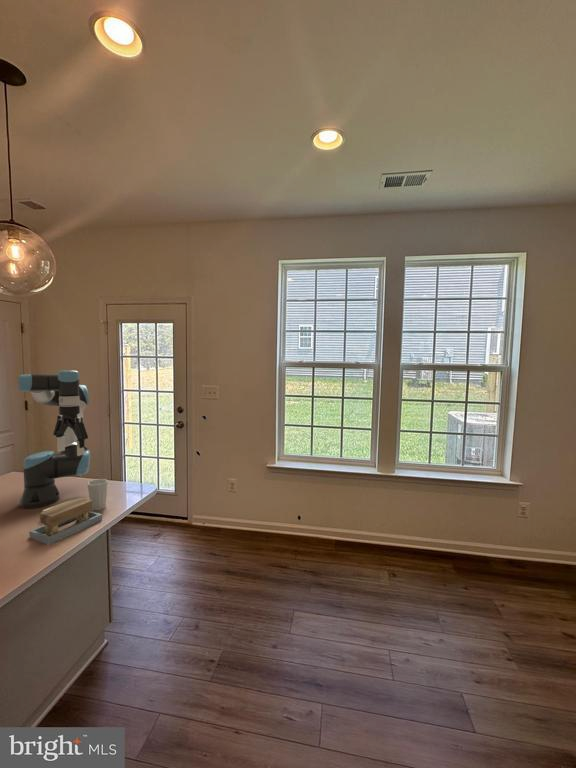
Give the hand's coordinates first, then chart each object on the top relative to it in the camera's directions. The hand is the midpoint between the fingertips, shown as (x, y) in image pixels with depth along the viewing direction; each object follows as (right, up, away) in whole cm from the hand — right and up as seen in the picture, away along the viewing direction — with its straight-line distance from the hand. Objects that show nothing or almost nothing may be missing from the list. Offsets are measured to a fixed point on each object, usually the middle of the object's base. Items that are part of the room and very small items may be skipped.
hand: (70, 453), depth 143 cm
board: (+7, -23, -13) cm, 27 cm away
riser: (-4, -27, -1) cm, 27 cm away
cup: (+8, -27, +6) cm, 29 cm away
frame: (+7, -28, -13) cm, 31 cm away
